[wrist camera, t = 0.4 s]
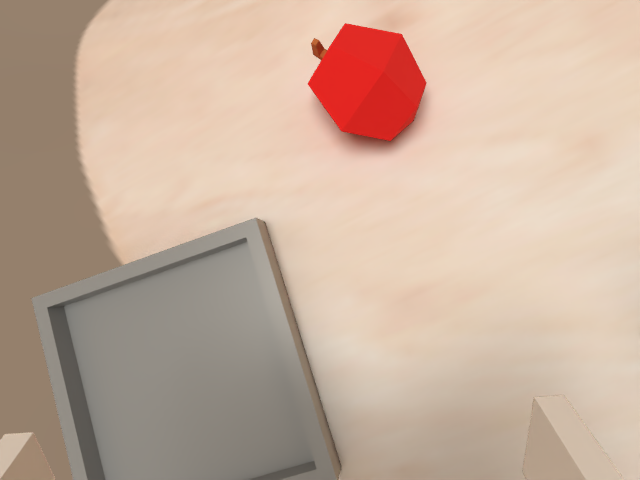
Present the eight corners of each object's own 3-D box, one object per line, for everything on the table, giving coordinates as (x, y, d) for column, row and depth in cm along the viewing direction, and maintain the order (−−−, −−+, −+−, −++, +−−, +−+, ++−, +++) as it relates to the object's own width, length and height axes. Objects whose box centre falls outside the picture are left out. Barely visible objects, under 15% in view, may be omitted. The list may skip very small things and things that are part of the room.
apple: (468, 65, 25) (350, -27, 23) (395, 168, 26) (280, 88, 25) (432, 75, 31) (339, 5, 30) (376, 157, 33) (285, 93, 31)
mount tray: (341, 466, 29) (337, 481, 27) (110, 531, 31) (89, 550, 29) (264, 222, 31) (255, 217, 29) (54, 297, 33) (31, 298, 31)
